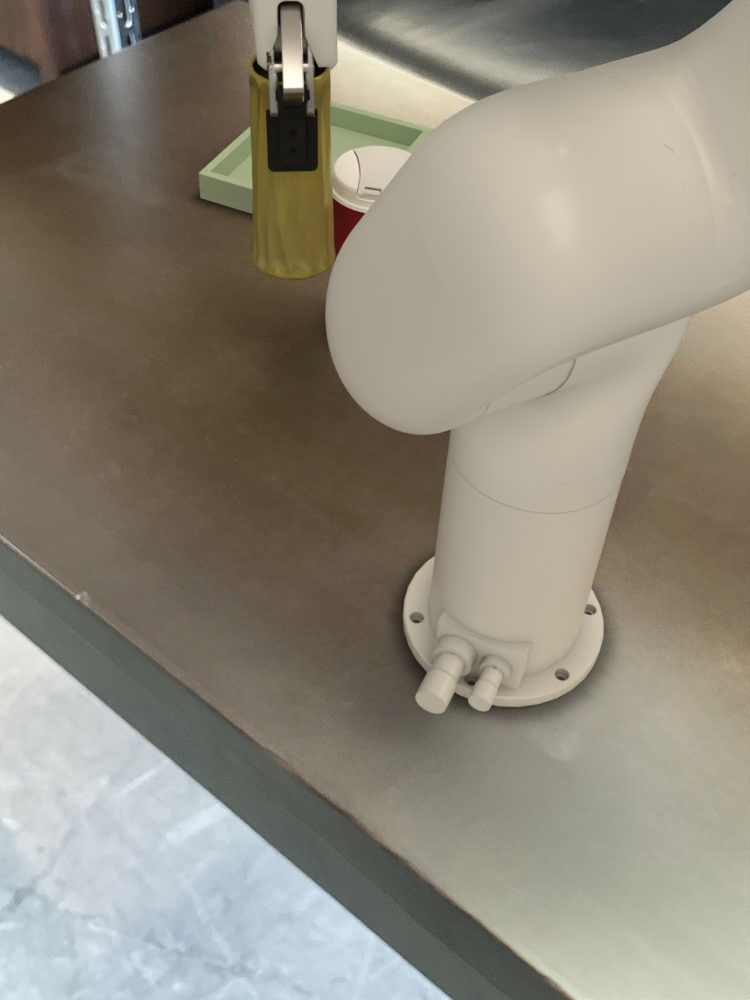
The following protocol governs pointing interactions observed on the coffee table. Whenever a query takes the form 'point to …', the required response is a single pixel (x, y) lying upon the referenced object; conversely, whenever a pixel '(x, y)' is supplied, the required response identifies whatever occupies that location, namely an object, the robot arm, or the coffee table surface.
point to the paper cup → (361, 184)
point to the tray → (349, 130)
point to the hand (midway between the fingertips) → (291, 142)
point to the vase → (291, 190)
